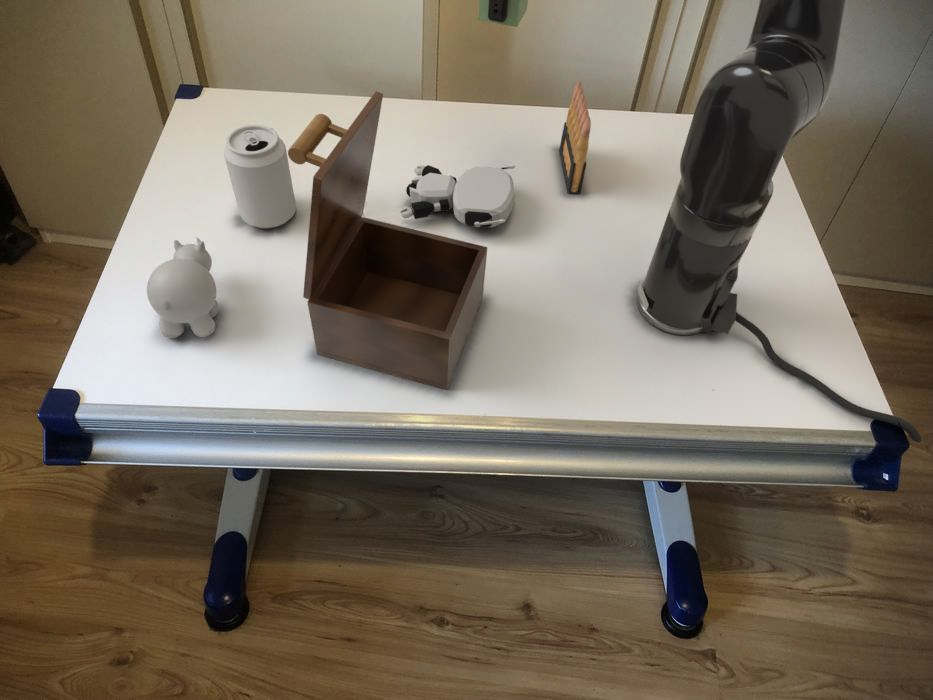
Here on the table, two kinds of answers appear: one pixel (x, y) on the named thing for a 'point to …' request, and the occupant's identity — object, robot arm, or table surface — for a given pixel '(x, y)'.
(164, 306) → the chubby cartoon animal
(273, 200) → the can
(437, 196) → the robot toy
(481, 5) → the block
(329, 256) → the lid
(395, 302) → the chest
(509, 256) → the table surface
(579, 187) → the ammunition clip
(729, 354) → the table surface
